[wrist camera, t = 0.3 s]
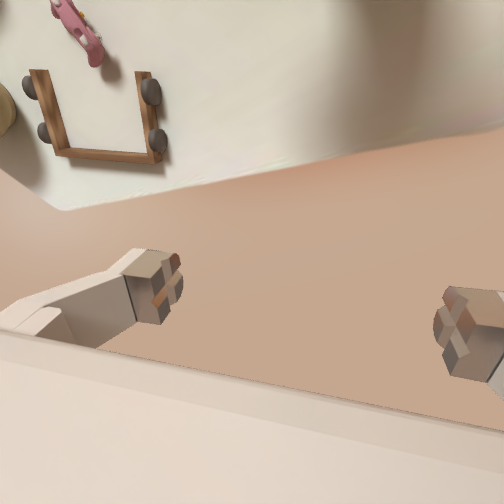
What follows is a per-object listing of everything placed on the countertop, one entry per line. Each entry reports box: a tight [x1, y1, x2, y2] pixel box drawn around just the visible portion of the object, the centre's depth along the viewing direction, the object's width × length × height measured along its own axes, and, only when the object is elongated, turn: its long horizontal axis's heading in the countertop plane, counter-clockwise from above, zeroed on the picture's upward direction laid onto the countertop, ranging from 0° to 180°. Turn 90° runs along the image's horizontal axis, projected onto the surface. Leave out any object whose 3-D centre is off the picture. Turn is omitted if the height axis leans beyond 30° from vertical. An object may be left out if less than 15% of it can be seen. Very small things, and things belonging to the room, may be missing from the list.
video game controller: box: [50, 0, 104, 67], centre depth 47 cm, size 10×5×7 cm, turn 34°
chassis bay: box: [22, 69, 167, 164], centre depth 55 cm, size 15×26×4 cm, turn 89°
